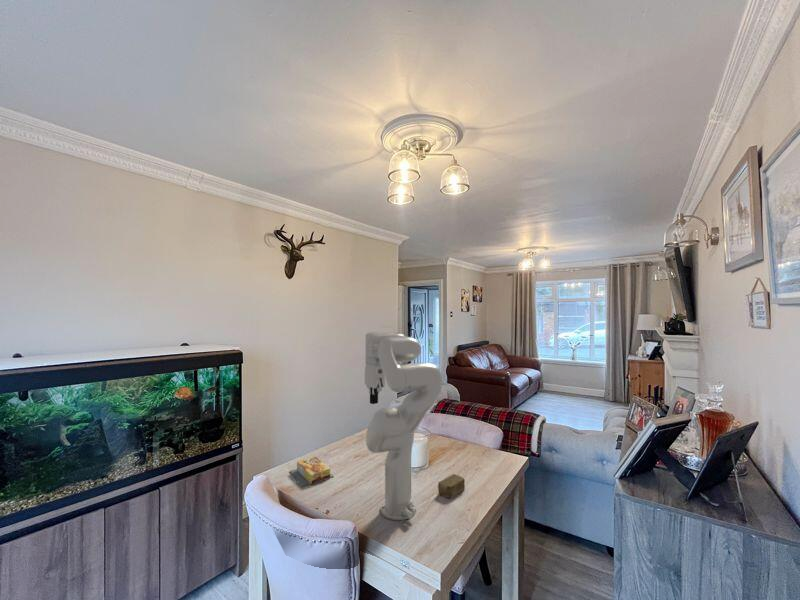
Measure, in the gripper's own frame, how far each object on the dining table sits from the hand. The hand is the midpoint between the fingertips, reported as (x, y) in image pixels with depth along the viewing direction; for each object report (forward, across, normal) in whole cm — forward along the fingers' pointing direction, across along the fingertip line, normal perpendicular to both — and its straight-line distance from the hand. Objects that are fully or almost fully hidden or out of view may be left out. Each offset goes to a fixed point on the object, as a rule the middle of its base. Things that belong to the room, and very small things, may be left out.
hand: (373, 403), depth 145 cm
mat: (+32, +19, +20) cm, 43 cm away
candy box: (+30, +10, +20) cm, 37 cm away
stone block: (+32, -28, -20) cm, 47 cm away
